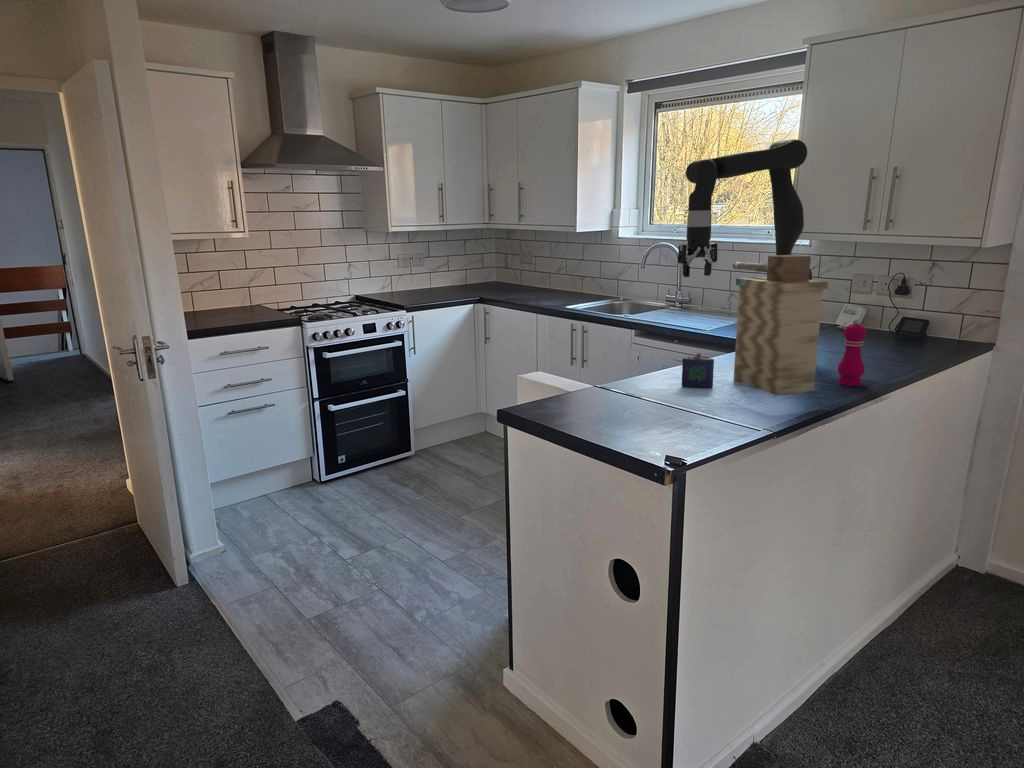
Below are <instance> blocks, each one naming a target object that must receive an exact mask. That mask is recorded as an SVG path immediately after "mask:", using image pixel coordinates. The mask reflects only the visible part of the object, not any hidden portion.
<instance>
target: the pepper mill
mask: <svg viewBox="0 0 1024 768" xmlns="http://www.w3.org/2000/svg"><path fill="white" fill-rule="evenodd" d="M866 336H867V329H866V327H865V326H864V325H862V324H860V319H858V318H854V319H853V320H852V324H851V323H850V324H848V325H846V327H845V328H844V330H843V337H844V338H845V340H844V345H845V351H844V354H843V356H842V359H841V360H840V362H839V363H838V367H837V373H838V374H839V375H840V376H839V377H838V381H837V383H838V385H840V384H842V385H841V386H843V385H848V386H847V387H851V386H856V387H860V386H862V378H861V377H862V376H863V375H864V374H865V364H864V361H863V358H862V354H861V353H862V347H863V346H864V340H863V339H865V338H866ZM859 385H860V386H859Z"/></svg>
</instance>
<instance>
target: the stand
mask: <svg viewBox="0 0 1024 768" xmlns="http://www.w3.org/2000/svg"><path fill="white" fill-rule="evenodd" d="M735 279H736V280H735V286H738V287H739V288H738V301H737V303H738V304H737V315H736V316H737V317H736V318H737V319H736V334H735V335H736V336H735V349H734V350H735V351H734V352H735V353H734V370H733V382H737V383H740V384H742V385H744V386H748V387H750V388H753V389H756V390H760V391H762V392H765V393H768V394H771V395H774V396H787V395H793V393H795V394H801V393H800V392H804V393H808V392H807V391H812V392H814V391H815V381H816V369H817V359H818V347H819V337H820V328H821V327H820V326H821V318H822V317H821V313H822V305H823V296H824V290H828V285H829V284H828V283H829V282H828V281H825V280H815V279H812V280H809V281H801V282H777V281H768V280H767V276H754V277H753V276H752V277H737V278H736V277H735Z"/></svg>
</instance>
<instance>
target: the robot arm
mask: <svg viewBox="0 0 1024 768" xmlns="http://www.w3.org/2000/svg"><path fill="white" fill-rule="evenodd" d="M807 147H808V146H807V145H806V143H805V142H803V141H802V140H799V139H795V138H789V139H788V138H787V139H778V140H775V141H773V142H772V143H771V144H770V146H769V147H768V148H767V149H760V150H751V151H741V152H734V153H730V154H729V153H728V154H724V155H722V156H718V157H714V158H713V157H712V158H704V159H699V160H694V161H692V162H690V163H689V164H688V166H687V167H686V169H685V177H686V179H687V180H688V181H689V182H690V183H692V184H694V185H695V187H694V190H693V191H692V192H691V193H690V194H689V197H688V212H687V219H686V241H687V244H679V245H678V250H677V252H678V253H677V254H678V255H677V263H678V264H679V265H682V276H683V277H684V278H690V276H691V275H690V273H691V263H692V261H694V259H697V258H701V259H702V260H703V261H704V265H703V267H704V269H703V275H704V276H707V277H709V276H711V274H712V266H713V264H714V263H716V262H718V243H716V242H711V243H710V241H711V238H712V237H711V236H712V221H713V220H712V218H713V217H712V202H713V201H712V200H713V199H712V196H713V193H714V190H715V188H716V184H717V179H730V178H733V177H739V176H743V175H748V174H752V173H758V172H760V171H762V172H763V171H767V170H768V172H769V178H770V183H771V184H770V185H771V194H772V204H773V205H772V206H773V208H772V209H773V225H774V234H775V236H774V237H775V256H778V255H792V252H793V249H794V246H795V245H796V243H797V241H798V240H799V238H800V237H801V234H802V232H803V231H804V228H805V227H804V226H805V220H804V219H805V218H804V217H805V216H804V208H803V207H804V206H803V204H802V201H801V199H800V197H799V194H798V193H797V191H796V189H795V187H794V183H793V179H792V172H791V171H792V170H794V169H796V168H798V167H801V166H802V165H803V163H805V161H806V159H807V156H808V148H807ZM809 280H813V273H812V269H811V268H810V272H809Z"/></svg>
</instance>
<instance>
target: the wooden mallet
mask: <svg viewBox="0 0 1024 768" xmlns="http://www.w3.org/2000/svg"><path fill="white" fill-rule="evenodd" d="M811 257H812V255H802V254H801V255H796V254H791V255H778V256H776V255H768V256H767V263H756V262H755V263H754V262H742V261H735V262H733V263H732V268H733V269H734V270H738V271H748V272H749V271H750V272H757V273H766V277H767V280H768V281H777V282H801V281H809V272H810V269H811V260H812V259H811Z"/></svg>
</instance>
